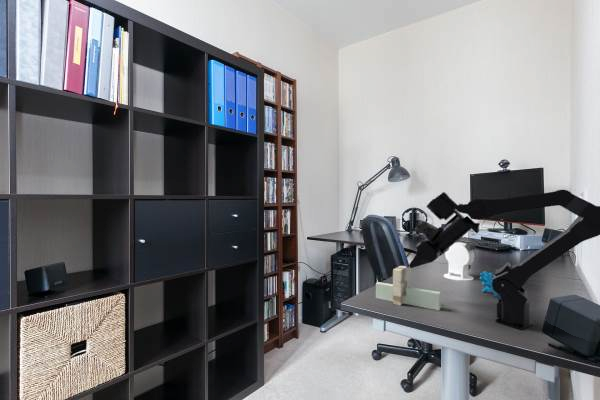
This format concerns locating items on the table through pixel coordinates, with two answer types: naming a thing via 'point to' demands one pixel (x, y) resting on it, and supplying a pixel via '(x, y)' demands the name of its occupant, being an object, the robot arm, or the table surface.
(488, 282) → the blue lumpy piece
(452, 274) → the white bracket stand
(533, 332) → the table surface
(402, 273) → the ash notched plate
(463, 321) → the table surface
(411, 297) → the sage slotted plate
